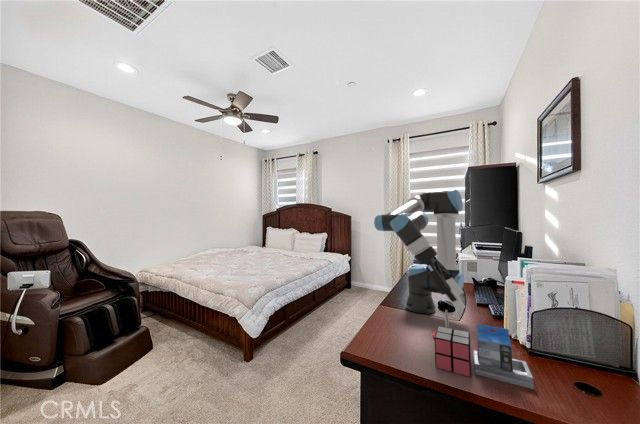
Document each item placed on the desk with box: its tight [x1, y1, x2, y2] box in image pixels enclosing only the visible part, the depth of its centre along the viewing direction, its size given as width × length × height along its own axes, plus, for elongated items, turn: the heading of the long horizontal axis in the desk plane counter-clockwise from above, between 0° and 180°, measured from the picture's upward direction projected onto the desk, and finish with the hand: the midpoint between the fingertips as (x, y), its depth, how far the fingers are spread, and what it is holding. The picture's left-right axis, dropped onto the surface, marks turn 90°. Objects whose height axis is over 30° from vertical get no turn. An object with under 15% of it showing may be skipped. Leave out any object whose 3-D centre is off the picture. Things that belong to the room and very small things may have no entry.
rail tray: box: [473, 349, 535, 390], centre depth 76 cm, size 10×14×3 cm
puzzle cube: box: [433, 326, 472, 378], centre depth 81 cm, size 10×10×10 cm
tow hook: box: [432, 309, 450, 338], centre depth 99 cm, size 8×13×9 cm
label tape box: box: [476, 323, 513, 371], centre depth 77 cm, size 9×4×12 cm, turn 59°
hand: (461, 301), depth 84 cm, fingers open, 13 cm apart
